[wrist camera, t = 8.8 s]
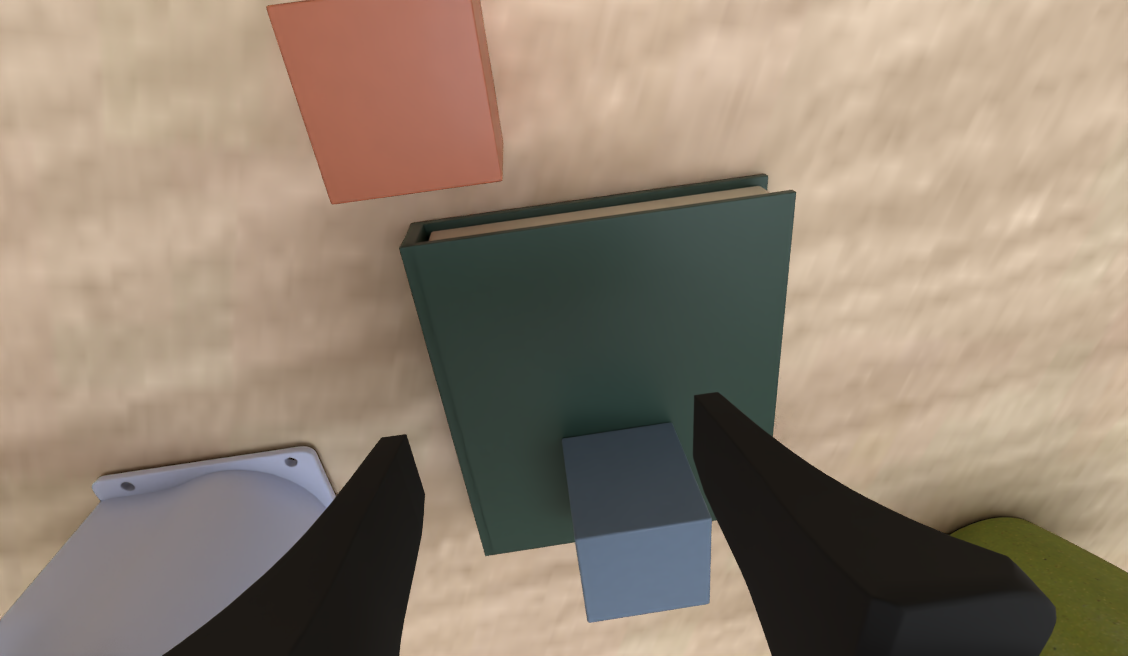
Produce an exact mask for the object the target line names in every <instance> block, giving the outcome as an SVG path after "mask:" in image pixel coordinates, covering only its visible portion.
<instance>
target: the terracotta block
mask: <svg viewBox="0 0 1128 656" xmlns="http://www.w3.org/2000/svg"><path fill="white" fill-rule="evenodd" d="M266 9H267V12H268V15H269V18H270V21H271V24H272V27H273V30H274V33H275V36H276V39H277V42H278V45H279V48H280V51H281V54H282V57H283V60H284V63H285V66H286V69H287V72H288V75H289V78H290V81H291V84H292V87H293V90H294V93H295V96H296V99H297V102H298V105H299V108H300V111H301V114H302V117H303V120H304V123H305V126H306V129H307V132H308V135H309V138H310V141H311V145H312V148H313V151H314V154H315V157H316V160H317V163H318V166H319V169H320V172H321V175H322V178H323V181H324V184H325V187H326V190H327V193H328V196H329V199H330V202H331V204H340V203H348V202H355V201H362V200H369V199H376V198H384V197H391V196H398V195H405V194H413V193H420V192H427V191H434V190H441V189H449V188H456V187H463V186H470V185H477V184H485V183H492V182H499V181H502V174H503V138H502V132H501V126H500V120H499V114H498V108H497V102H496V96H495V89H494V83H493V77H492V71H491V65H490V59H489V53H488V47H487V41H486V34H485V28H484V22H483V16H482V10H481V4H480V0H306V1H299V2H291V3H283V4H276V5H268V6H267V7H266Z"/></svg>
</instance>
